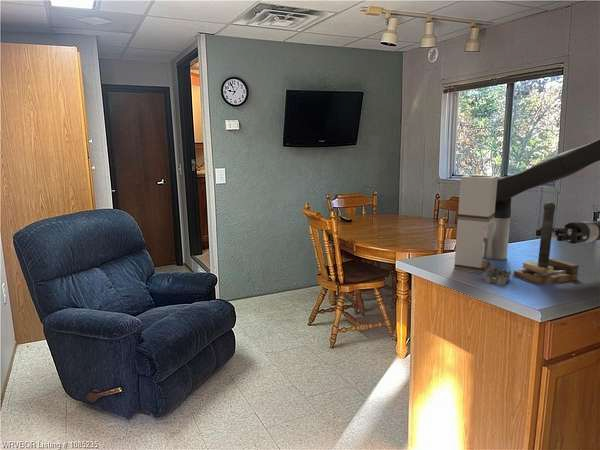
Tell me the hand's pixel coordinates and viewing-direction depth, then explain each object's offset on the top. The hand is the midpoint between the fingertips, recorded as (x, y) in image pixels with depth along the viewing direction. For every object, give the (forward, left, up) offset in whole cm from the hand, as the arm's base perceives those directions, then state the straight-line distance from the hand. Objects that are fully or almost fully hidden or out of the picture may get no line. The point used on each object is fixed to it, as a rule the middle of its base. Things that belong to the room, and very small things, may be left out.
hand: (547, 235), depth 154 cm
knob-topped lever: (-2, +1, -13) cm, 13 cm away
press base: (+2, +4, -16) cm, 17 cm away
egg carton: (-15, -4, -17) cm, 23 cm away
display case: (-22, +9, -16) cm, 29 cm away
